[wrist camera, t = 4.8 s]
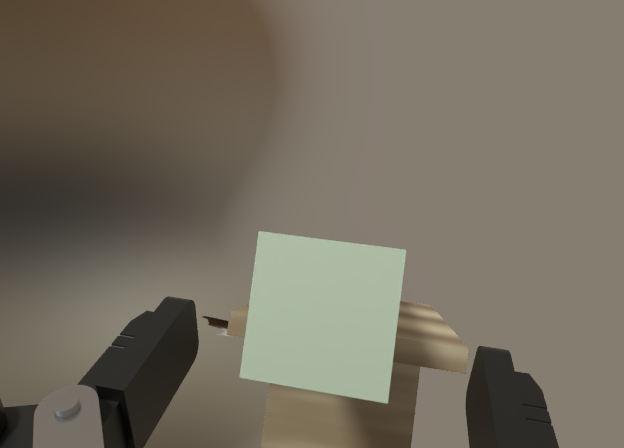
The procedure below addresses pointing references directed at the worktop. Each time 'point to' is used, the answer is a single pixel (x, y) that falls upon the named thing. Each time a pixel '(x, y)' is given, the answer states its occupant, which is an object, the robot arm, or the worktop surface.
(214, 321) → the worktop surface
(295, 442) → the stand
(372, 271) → the bar
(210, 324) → the worktop surface
